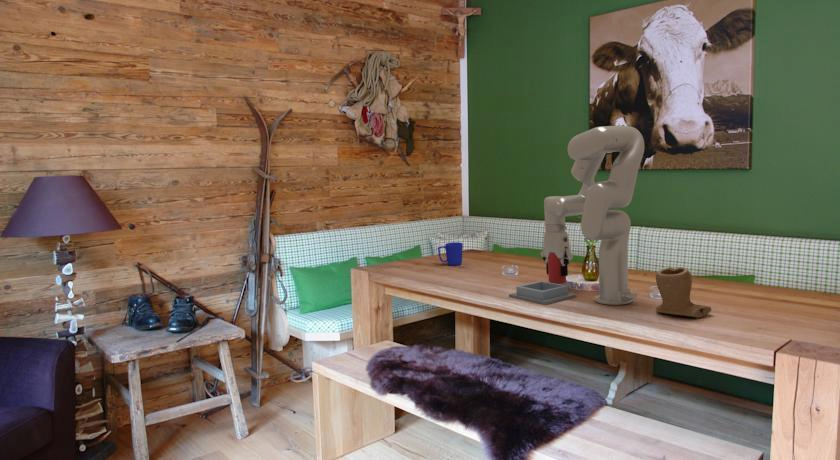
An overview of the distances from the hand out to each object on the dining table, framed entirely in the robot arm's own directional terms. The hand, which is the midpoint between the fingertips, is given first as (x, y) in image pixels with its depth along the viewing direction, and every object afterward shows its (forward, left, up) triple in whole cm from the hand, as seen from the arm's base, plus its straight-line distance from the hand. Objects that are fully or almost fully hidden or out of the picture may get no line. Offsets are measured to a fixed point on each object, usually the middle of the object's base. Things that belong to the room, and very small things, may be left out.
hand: (557, 274), depth 254 cm
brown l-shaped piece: (-55, +5, -5) cm, 56 cm away
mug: (+69, -3, -5) cm, 69 cm away
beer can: (0, 0, -3) cm, 3 cm away
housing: (-7, +16, -5) cm, 18 cm away
